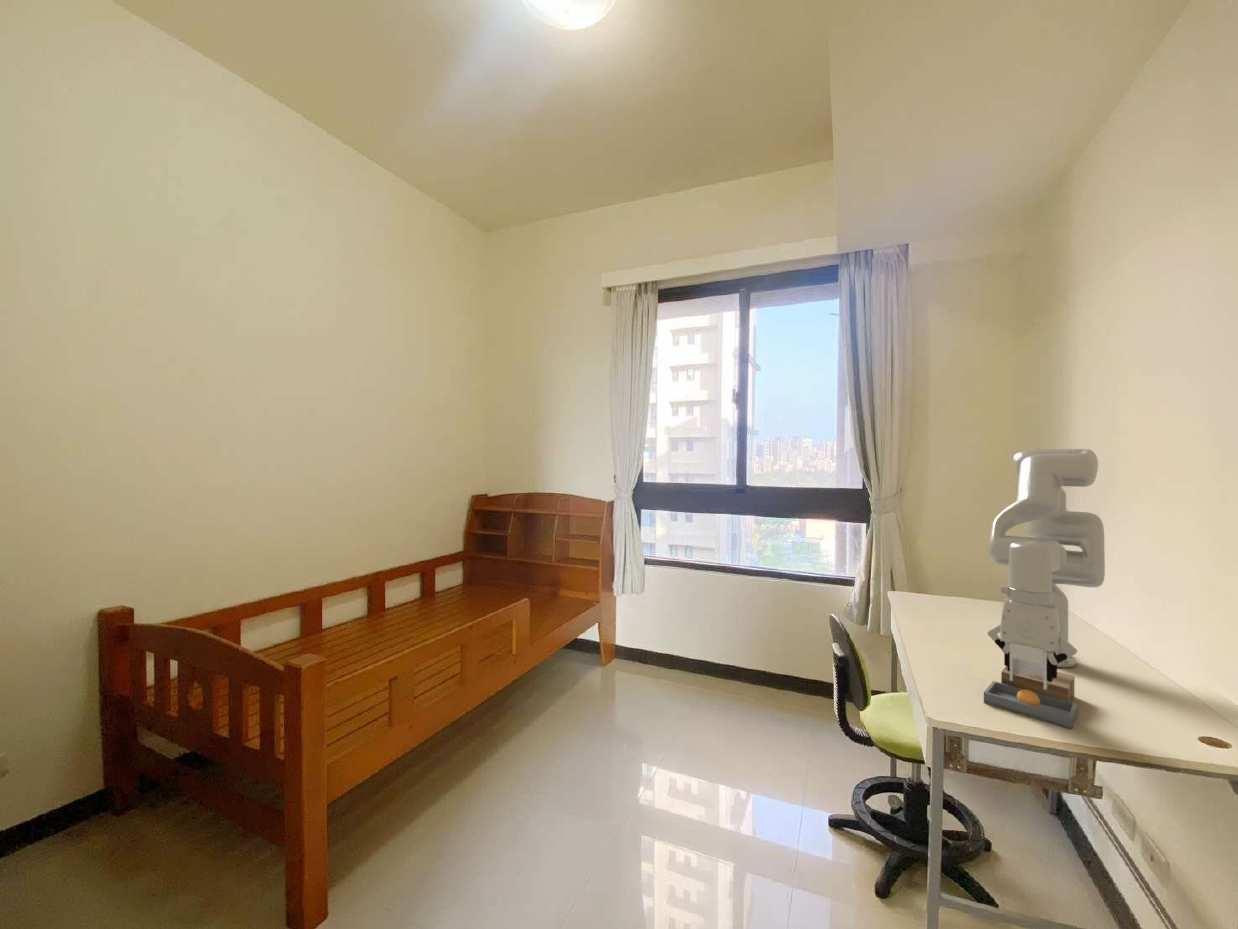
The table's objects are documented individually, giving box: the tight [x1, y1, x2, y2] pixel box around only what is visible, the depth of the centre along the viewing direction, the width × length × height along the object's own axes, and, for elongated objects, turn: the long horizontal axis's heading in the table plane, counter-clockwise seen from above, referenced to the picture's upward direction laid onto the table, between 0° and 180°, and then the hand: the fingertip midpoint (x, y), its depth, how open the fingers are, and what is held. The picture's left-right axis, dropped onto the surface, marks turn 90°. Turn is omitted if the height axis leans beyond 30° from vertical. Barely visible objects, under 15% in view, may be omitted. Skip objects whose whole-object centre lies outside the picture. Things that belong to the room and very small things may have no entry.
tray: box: [983, 680, 1078, 730], centre depth 110 cm, size 9×15×2 cm, turn 41°
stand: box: [1000, 666, 1075, 703], centre depth 116 cm, size 10×12×5 cm
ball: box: [1017, 689, 1040, 707], centre depth 109 cm, size 4×4×4 cm
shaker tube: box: [1010, 642, 1051, 690], centre depth 110 cm, size 6×6×9 cm
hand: (1030, 674), depth 110 cm, fingers closed on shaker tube, 6 cm apart
